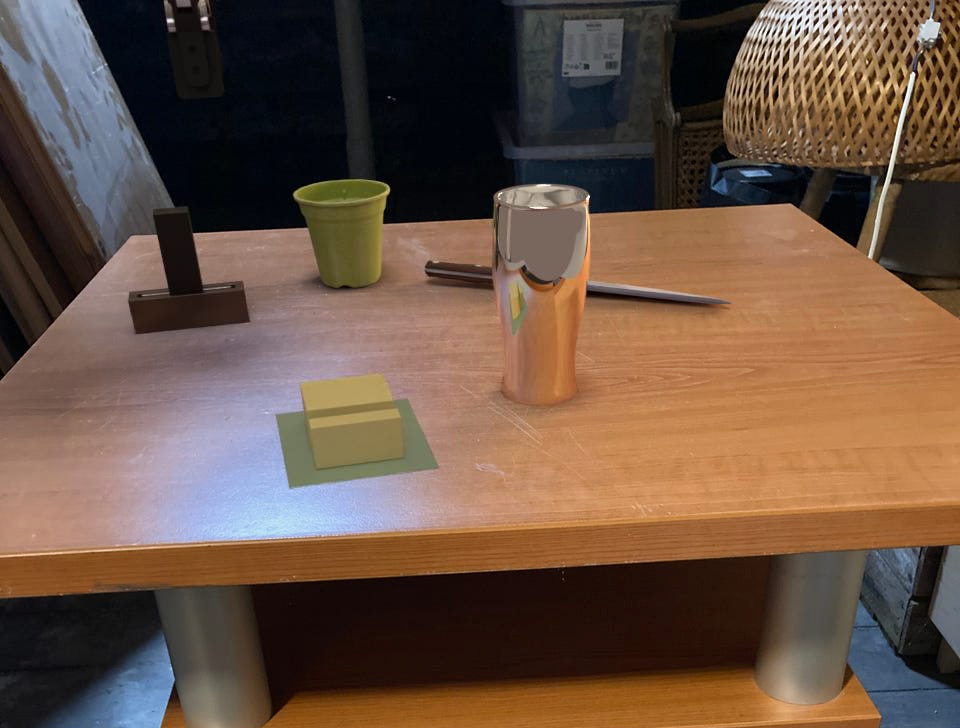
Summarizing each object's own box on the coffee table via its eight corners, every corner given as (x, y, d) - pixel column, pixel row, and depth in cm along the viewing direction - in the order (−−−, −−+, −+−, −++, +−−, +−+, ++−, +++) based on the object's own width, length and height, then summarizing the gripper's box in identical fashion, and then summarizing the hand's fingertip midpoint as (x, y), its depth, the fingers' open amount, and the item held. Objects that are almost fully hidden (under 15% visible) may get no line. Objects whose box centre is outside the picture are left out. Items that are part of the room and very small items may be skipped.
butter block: (311, 451, 69) (306, 410, 67) (305, 421, 73) (299, 382, 71) (397, 440, 70) (393, 399, 68) (386, 411, 74) (382, 372, 72)
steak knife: (437, 265, 104) (436, 247, 103) (735, 297, 96) (738, 278, 95) (421, 281, 101) (420, 263, 100) (728, 316, 93) (731, 297, 92)
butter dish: (291, 501, 65) (289, 488, 65) (277, 426, 75) (275, 413, 74) (440, 481, 67) (439, 467, 66) (408, 410, 76) (407, 397, 76)
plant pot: (339, 301, 97) (329, 207, 92) (287, 280, 103) (274, 191, 98) (414, 279, 102) (409, 189, 97) (361, 261, 108) (352, 174, 103)
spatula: (149, 330, 92) (122, 217, 86) (149, 323, 94) (123, 211, 88) (236, 321, 93) (216, 208, 87) (235, 314, 95) (216, 203, 89)
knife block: (135, 333, 92) (127, 301, 90) (136, 323, 94) (129, 291, 92) (249, 321, 93) (244, 289, 92) (248, 312, 96) (242, 280, 94)
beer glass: (536, 376, 81) (538, 178, 72) (603, 400, 77) (613, 193, 68) (475, 403, 77) (469, 196, 68) (542, 429, 73) (544, 213, 64)
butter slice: (316, 469, 67) (310, 428, 65) (314, 459, 68) (308, 418, 66) (404, 458, 68) (401, 416, 66) (400, 448, 69) (397, 407, 67)
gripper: (102, -202, 70) (156, 74, 81) (74, -226, 57) (144, 109, 67) (210, -205, 71) (250, 68, 82) (208, -229, 58) (256, 102, 68)
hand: (202, 87), depth 74 cm, fingers open, 9 cm apart
